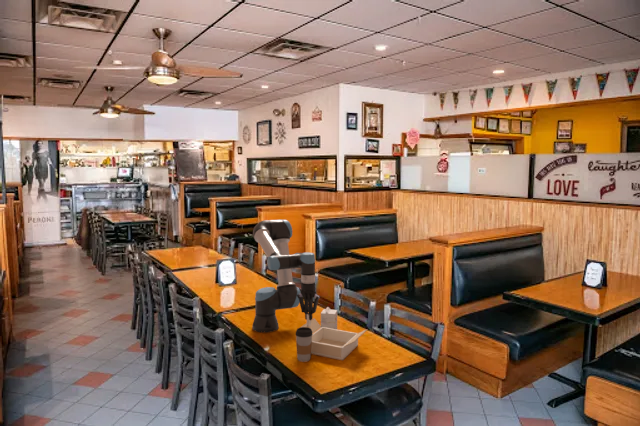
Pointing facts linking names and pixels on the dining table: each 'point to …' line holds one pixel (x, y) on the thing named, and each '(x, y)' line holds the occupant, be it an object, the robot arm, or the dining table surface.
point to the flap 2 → (355, 338)
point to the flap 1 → (313, 325)
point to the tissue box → (329, 318)
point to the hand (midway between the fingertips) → (308, 325)
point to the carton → (332, 343)
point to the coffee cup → (303, 343)
